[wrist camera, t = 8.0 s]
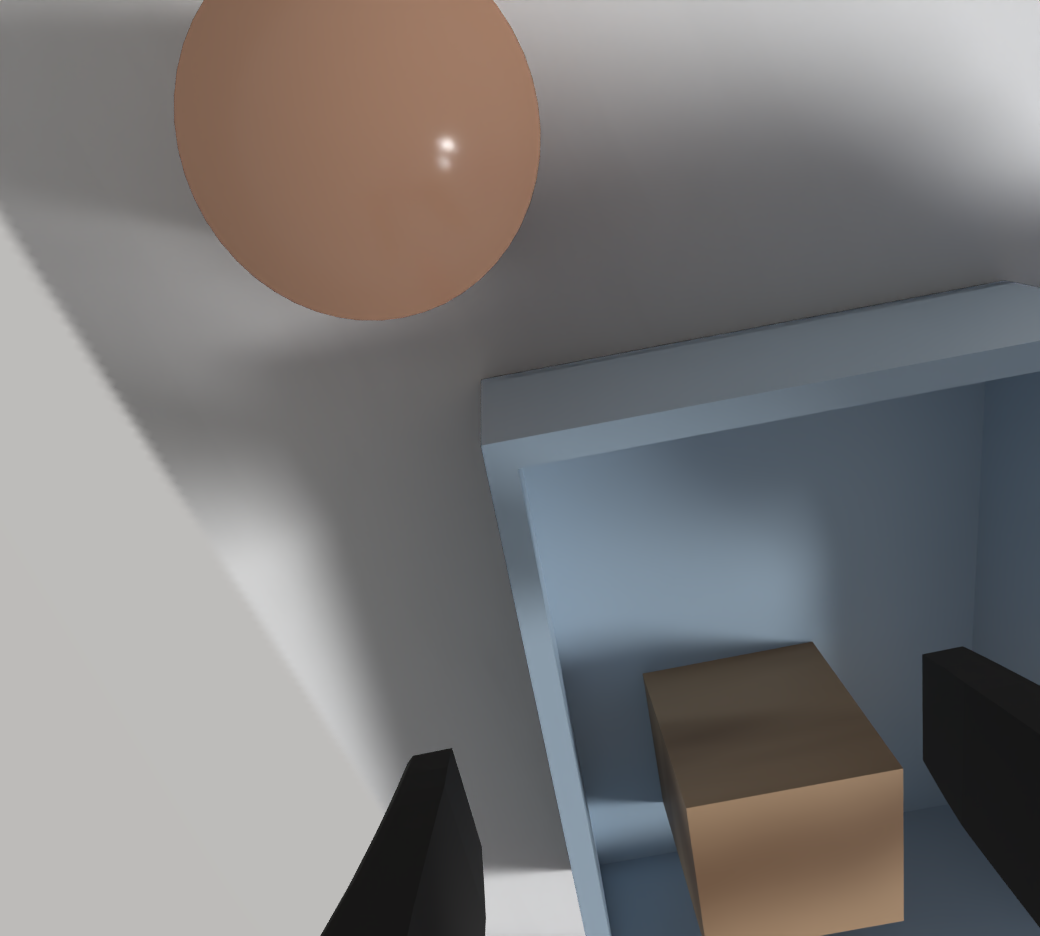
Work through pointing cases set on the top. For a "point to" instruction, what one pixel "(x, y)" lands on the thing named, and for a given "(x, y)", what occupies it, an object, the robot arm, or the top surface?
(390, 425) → the top surface
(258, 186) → the terracotta cylinder
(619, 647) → the tote
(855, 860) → the walnut cube
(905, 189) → the top surface
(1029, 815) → the robot arm
